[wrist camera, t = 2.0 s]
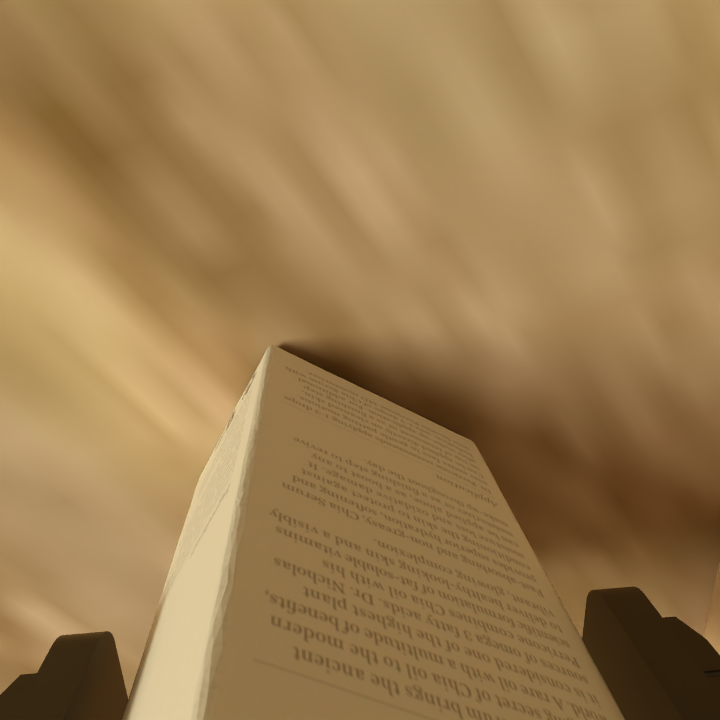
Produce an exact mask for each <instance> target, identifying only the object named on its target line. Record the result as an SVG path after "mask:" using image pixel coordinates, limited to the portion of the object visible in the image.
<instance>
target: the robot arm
mask: <svg viewBox="0 0 720 720" xmlns="http://www.w3.org/2000/svg"><path fill="white" fill-rule="evenodd" d="M582 640H583V642H584V644H585V646H586V648H587V650H588V652H589V654H590V656H591V657H592V659H593V661H594V663H595V665H596V667H597V668H598V670H599V672H600V674H601V676H602V677H603V679H604V681H605V683H606V685H607V687H608V688H609V690H610V692H611V694H612V696H613V698H614V700H615V701H616V703H617V705H618V707H619V709H620V711H621V713H622V715H623V716H624V718H625V720H720V655H719V654H718V652H717V651H716V650H715V649H714V647H713V646H712V645H711V644H710V643H709V641H708V640H707V639H705V638H704V637H703V636H701V635H700V634H699V633H697V632H696V631H694V630H693V629H692V628H690V627H689V626H688V625H686V624H685V623H683V622H682V621H681V620H679V619H678V618H677V617H665V618H662V617H661V615H660V614H659V613H658V611H657V610H656V609H655V607H654V606H653V605H652V603H651V602H650V601H649V600H648V598H647V597H646V596H645V594H644V593H643V592H642V591H641V590H640V589H639V588H637V587H623V588H612V589H601V590H592V591H590V592H589V594H588V596H587V601H586V610H585V619H584V628H583V637H582ZM127 702H128V697H127V693H126V688H125V684H124V680H123V675H122V671H121V667H120V662H119V658H118V654H117V649H116V645H115V641H114V637H113V635H112V634H111V633H110V632H108V631H106V632H95V633H84V634H72V635H62V636H60V637H58V638H57V639H56V640H55V642H54V643H53V645H52V647H51V648H50V650H49V652H48V654H47V656H46V658H45V660H44V661H43V663H42V665H41V667H40V669H39V671H38V673H35V674H24V675H20V676H19V677H18V678H17V679H16V680H15V681H14V682H13V683H12V684H11V685H10V686H9V687H8V688H7V689H6V690H5V691H4V692H3V693H2V694H1V695H0V720H122V718H123V715H124V712H125V709H126V706H127Z"/></svg>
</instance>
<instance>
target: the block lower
mask: <svg viewBox="0 0 720 720" xmlns="http://www.w3.org/2000/svg"><path fill="white" fill-rule="evenodd" d="M703 637H704V638H705V639H707V640H708V641H709V643H710V644H711V645H712V646H713V647H714V649H715V650H716V651H717V652H718V654H719V655H720V564H719V568H718V573H717V577H716V582H715V586H714V591H713V595H712V600H711V605H710V609H709V614H708V618H707V623H706V627H705V632H704V636H703Z"/></svg>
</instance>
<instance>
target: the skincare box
mask: <svg viewBox="0 0 720 720" xmlns="http://www.w3.org/2000/svg"><path fill="white" fill-rule="evenodd" d="M122 720H625V718H624V716H623V715H622V713H621V711H620V709H619V707H618V705H617V703H616V701H615V700H614V698H613V696H612V694H611V692H610V690H609V688H608V687H607V685H606V683H605V681H604V679H603V677H602V676H601V674H600V672H599V670H598V668H597V667H596V665H595V663H594V661H593V659H592V657H591V656H590V654H589V652H588V650H587V648H586V646H585V644H584V642H583V640H582V638H581V636H580V635H579V633H578V631H577V629H576V628H575V626H574V624H573V622H572V621H571V619H570V617H569V615H568V613H567V612H566V610H565V608H564V606H563V604H562V602H561V601H560V599H559V597H558V595H557V593H556V591H555V590H554V588H553V586H552V584H551V582H550V580H549V578H548V577H547V575H546V573H545V571H544V569H543V567H542V565H541V564H540V562H539V560H538V558H537V556H536V555H535V553H534V551H533V549H532V547H531V546H530V544H529V542H528V540H527V538H526V537H525V535H524V533H523V531H522V529H521V527H520V525H519V524H518V522H517V520H516V518H515V516H514V514H513V512H512V511H511V509H510V507H509V505H508V503H507V501H506V500H505V498H504V496H503V494H502V492H501V491H500V489H499V487H498V485H497V483H496V481H495V479H494V477H493V475H492V474H491V472H490V470H489V468H488V466H487V464H486V462H485V461H484V459H483V457H482V455H481V453H480V452H479V450H478V448H477V447H476V445H475V443H474V442H473V441H472V440H470V439H468V438H465V437H463V436H461V435H459V434H457V433H454V432H452V431H450V430H448V429H446V428H444V427H442V426H440V425H438V424H436V423H434V422H432V421H430V420H428V419H426V418H424V417H422V416H419V415H417V414H415V413H413V412H411V411H409V410H407V409H405V408H403V407H401V406H399V405H397V404H394V403H392V402H390V401H388V400H386V399H384V398H382V397H380V396H378V395H376V394H374V393H372V392H369V391H367V390H365V389H363V388H361V387H359V386H357V385H355V384H353V383H351V382H349V381H347V380H345V379H342V378H340V377H338V376H336V375H334V374H332V373H330V372H327V371H325V370H323V369H321V368H319V367H317V366H315V365H313V364H311V363H309V362H307V361H305V360H303V359H301V358H299V357H297V356H295V355H293V354H291V353H288V352H286V351H284V350H283V349H281V348H279V347H276V346H273V345H271V346H269V347H268V349H267V350H266V352H265V354H264V356H263V358H262V360H261V362H260V364H259V366H258V368H257V369H256V371H255V373H254V375H253V377H252V379H251V380H250V382H249V384H248V386H247V388H246V389H245V391H244V393H243V395H242V397H241V398H240V400H239V402H238V404H237V406H236V408H235V410H234V412H233V414H232V416H231V418H230V420H229V422H228V424H227V426H226V428H225V430H224V432H223V434H222V436H221V437H220V439H219V441H218V443H217V445H216V447H215V449H214V451H213V453H212V455H211V457H210V459H209V461H208V463H207V465H206V466H205V468H204V470H203V472H202V474H201V476H200V478H199V481H198V484H197V487H196V489H195V493H194V496H193V499H192V503H191V506H190V509H189V512H188V515H187V518H186V521H185V524H184V527H183V530H182V533H181V536H180V539H179V542H178V545H177V548H176V551H175V554H174V558H173V561H172V564H171V567H170V570H169V574H168V577H167V580H166V583H165V586H164V590H163V593H162V596H161V599H160V602H159V605H158V608H157V611H156V614H155V617H154V621H153V624H152V627H151V630H150V633H149V637H148V640H147V643H146V646H145V649H144V653H143V656H142V659H141V662H140V665H139V668H138V671H137V674H136V677H135V680H134V683H133V687H132V690H131V693H130V696H129V699H128V702H127V706H126V709H125V712H124V715H123V718H122Z"/></svg>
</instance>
